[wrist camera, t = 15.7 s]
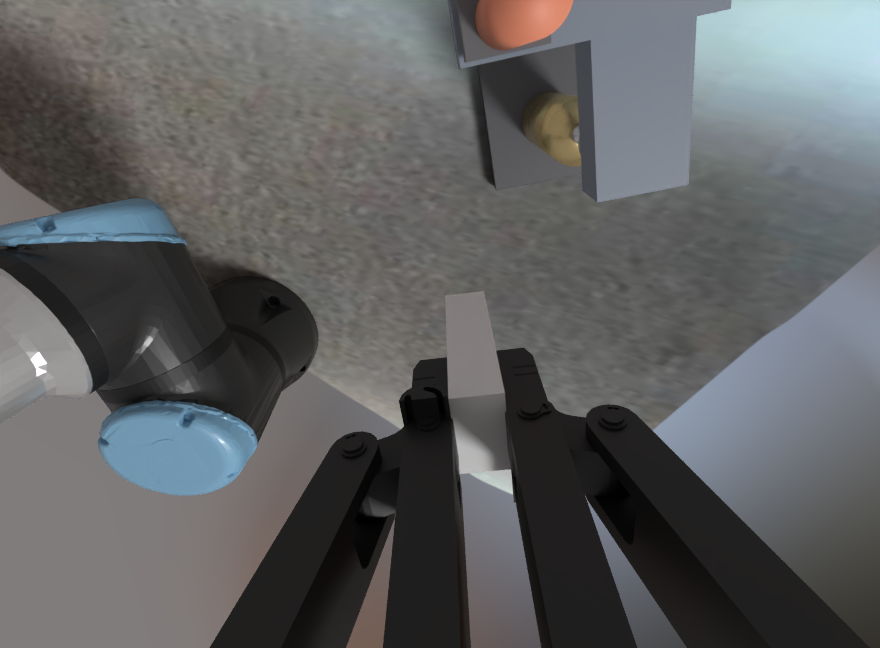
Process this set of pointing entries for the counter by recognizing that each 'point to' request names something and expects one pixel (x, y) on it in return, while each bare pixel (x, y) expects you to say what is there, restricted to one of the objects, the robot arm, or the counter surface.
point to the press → (600, 95)
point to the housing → (554, 126)
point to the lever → (507, 25)
